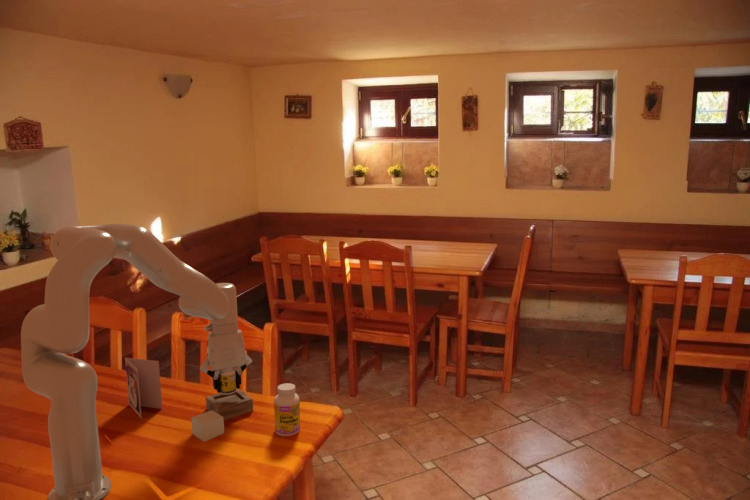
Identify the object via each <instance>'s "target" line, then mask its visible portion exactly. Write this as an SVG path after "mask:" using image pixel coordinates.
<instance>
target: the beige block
mask: <svg viewBox="0 0 750 500" xmlns="http://www.w3.org/2000/svg"><path fill="white" fill-rule="evenodd" d="M190 419H191V431H192V433H191V434H192V435H193V436H195V437H196V438H198V439H199V440H200V441H202V442H207V441H210V440H212V439H214V438H216V437H218V436H221V435H224V434H225V423H224V422H225V421H224V418H223V417H222V416H221V415H219V414H218V413H216V412H214V411H213V410H211V411H208V410H207V411H205V412H202V413H199V414H198V415H195V416H194V415H193V416H192V417H191V418H190Z"/></svg>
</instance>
